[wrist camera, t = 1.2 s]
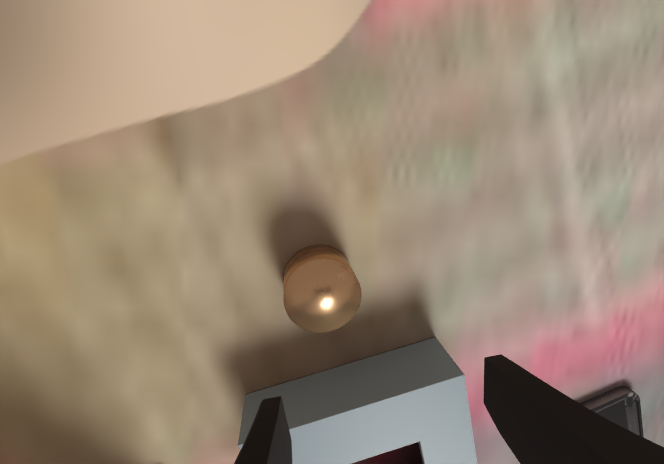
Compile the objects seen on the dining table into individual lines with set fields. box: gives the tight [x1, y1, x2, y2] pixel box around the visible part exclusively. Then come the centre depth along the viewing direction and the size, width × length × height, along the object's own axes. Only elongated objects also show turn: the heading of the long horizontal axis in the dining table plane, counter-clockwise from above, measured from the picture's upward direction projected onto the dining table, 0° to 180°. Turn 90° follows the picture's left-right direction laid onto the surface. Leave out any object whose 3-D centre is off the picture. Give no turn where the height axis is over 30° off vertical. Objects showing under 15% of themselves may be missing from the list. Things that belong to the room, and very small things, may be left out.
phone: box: [581, 386, 644, 438], centre depth 30 cm, size 8×1×15 cm
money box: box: [238, 337, 477, 464], centre depth 23 cm, size 14×14×4 cm
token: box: [284, 245, 361, 332], centre depth 20 cm, size 4×4×3 cm
